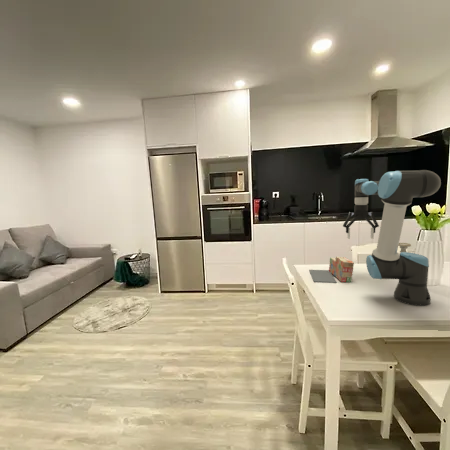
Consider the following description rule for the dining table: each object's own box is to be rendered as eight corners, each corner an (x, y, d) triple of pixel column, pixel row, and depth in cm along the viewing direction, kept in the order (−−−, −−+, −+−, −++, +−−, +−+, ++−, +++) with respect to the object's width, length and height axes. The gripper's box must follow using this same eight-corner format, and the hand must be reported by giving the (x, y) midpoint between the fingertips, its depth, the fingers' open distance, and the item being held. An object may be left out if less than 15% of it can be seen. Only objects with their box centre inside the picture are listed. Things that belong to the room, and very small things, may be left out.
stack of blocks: (328, 270, 183) (330, 253, 182) (337, 271, 183) (340, 253, 181) (341, 281, 162) (343, 261, 160) (351, 282, 162) (354, 262, 160)
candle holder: (412, 277, 167) (415, 245, 164) (397, 277, 169) (398, 245, 166) (406, 273, 175) (408, 242, 173) (391, 272, 177) (393, 242, 175)
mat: (336, 282, 162) (336, 282, 162) (313, 282, 164) (313, 281, 164) (329, 271, 185) (329, 270, 185) (309, 270, 187) (309, 269, 187)
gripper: (380, 203, 169) (379, 237, 171) (338, 204, 174) (337, 237, 176) (385, 204, 161) (384, 239, 164) (341, 204, 166) (340, 239, 169)
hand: (360, 238), depth 170 cm, fingers open, 13 cm apart
